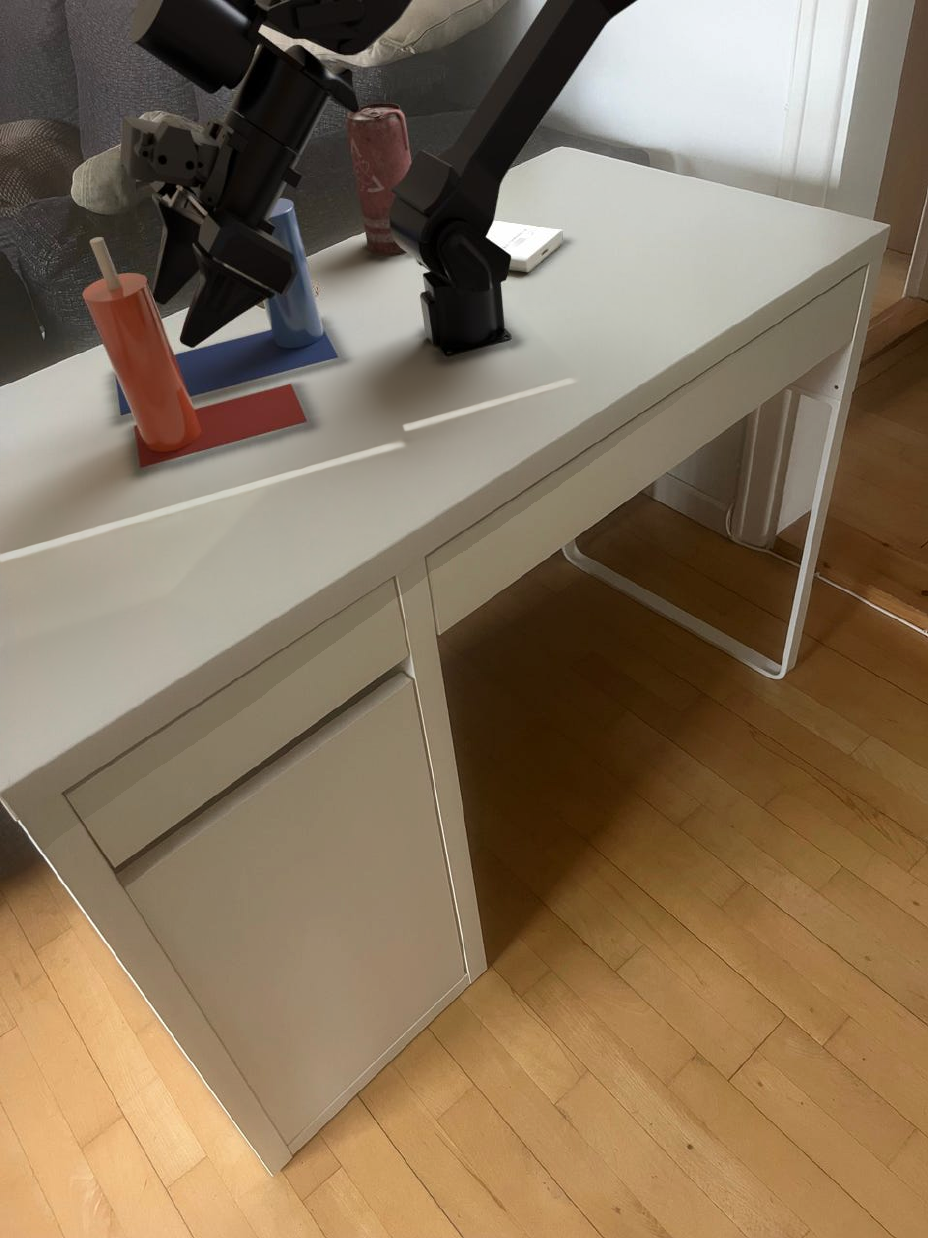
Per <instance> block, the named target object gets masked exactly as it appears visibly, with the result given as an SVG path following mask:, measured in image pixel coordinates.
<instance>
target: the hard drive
mask: <svg viewBox="0 0 928 1238" xmlns="http://www.w3.org/2000/svg"><path fill="white" fill-rule="evenodd" d="M486 237H487V238H488V239H489V240H491V241H492V242H494V243H495V244H496V245H498V246H499V247H501V248H502V249H503V250H505V251H506V252H507V253H509V254H510V255H511V262H510V266H509V271H514V272H515V271H516V272H524V273H529V272H531V271H532V270H533V269H535V268H536V267H537V266H538V265H539V264H540V263H541V262H543V261H544V260H545V259H546V258H547V257H549V255H551V254H552V253H553V252H554V251H556V250H557V248H558V247H560V246H561V245H562V243H563V242H564V230H563V229H557V228H549V227H541V226H534V225H528V224H520V223H513V222H506V221H505V222H504V221H500V220H499V221H498V220H494V222H493V224H492V226H491V228H490V230H489V232H488V234H487V236H486Z"/></svg>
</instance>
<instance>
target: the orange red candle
mask: <svg viewBox="0 0 928 1238" xmlns="http://www.w3.org/2000/svg"><path fill="white" fill-rule="evenodd" d="M89 244H90V246H91V249H92V252H93V254H94V256H95V259H96V262H97V264H98V267H99V269H100V272H101V274H102V277H103V278H100V279H98V280H96V281H94V282H92V283H91V284H89V285H88V286H87V287H86V288H85V289H84V290H83V292H82V298H83V301H84V302H85V305H86V308H87V310H88V313H89V315H90V317H91V319H92V323H93V324H94V326H95V329H96V331H97V333H98V336H99V339H100V341H101V343H102V345H103V348H104V350H105V352H106V356H107V357H108V360H109V363H110V365H111V367H112V370H113V372H114V374H115V378H116V377H117V379H118V381H119V384H120V386H121V388H122V391H123V393H124V396H125V398H126V400H127V403H128V405H129V407H130V410H131V412H132V413H131V414H132V417H133V419H134V422H135V425H137V426H138V429H139V431H140V434H141V436H142V438H143V441H144V443H145V445H146V447H147V448H148V449H150V450H152V451H156V452H169V451H174V450H178V449H181V448H183V447H186V446H187V445H189V444H191V443H192V442H194V441H195V440H196V439H197V438H198V437H199V435H200V433H201V426H200V423H199V420H198V418H197V415H196V412H195V409H196V408H195V407H194V404H193V401H192V399H191V398H192V397H190V396H189V393H188V390H187V387H186V385H185V382H184V379H183V376H182V374H181V371H180V368H179V365H178V363H177V360H176V357H175V355H176V354H175V351H174V349H173V346H172V343H171V341H170V339H169V335H168V333H167V330H166V327H165V325H164V321H163V319H162V316H161V314H160V310H159V308H158V305H157V302H156V301H155V299H154V297H153V294H152V291H153V290H152V289H151V286H150V283H149V281H148V278H147V277H146V276H145V275H144V274H141V273H137V272H126V273H125V272H124V273H118V272H117V270H116V266H115V265H114V262H113V259H112V257H111V254H110V251H109V248H108V245H107V244H106V240H105V238H104V237H103V236H96V237H93V238H91V239H90V240H89Z"/></svg>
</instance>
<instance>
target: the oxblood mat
mask: <svg viewBox="0 0 928 1238" xmlns="http://www.w3.org/2000/svg"><path fill="white" fill-rule="evenodd" d="M194 409H195V412H196V415H197V418H198V420H199V423H200V426H201V433H200V435H199V437H198V438H197V439H196V440H195V441H194V442H192V443H191V444H189V445H187V446H186V447H183V448H181V449H178V450H174V451H169V452H156V451H152V450H150V449H148V448H147V447H146V445H145V443H144V441H143V438H142V436H141V434H140V431H139V429H138V426H137V424H135V425H134V427H133V428H134V434H135V440H136V448H137V453H138V460H139V467H140V468H145V467H148V466H152V465H156V464H159V463H163V462H167V461H171V460H175V459H177V458H180V457H185V456H189V455H191V454H196V453H199V452H202V451H206V450H209V449H214V448H217V447H221V446H224V445H228V444H231V443H235V442H238V441H239V442H240V441H242V440H246V439H249V438H252V437H257V436H261V435H263V434H267V433H270V432H275V431H278V430H282V429H286V428H288V427H292V426H297V425H300V424H303V423H307V422H308V421H307V418H306V415H305V413H304V411H303V408H302V406H301V403H300V401H299V399H298V397H297V395H296V392H295V389H294V387H293V385H292V383H287V384H284V385H281V386H276V387H273V388H269V389H266V390H262V391H258V392H254V393H251V394H247V395H244V396H240V397H236V398H231V399H229V400H225V401H224V400H223V401H221V402H217V403H214V404H210V405H206V406H202V407H199V408H194Z"/></svg>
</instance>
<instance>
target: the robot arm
mask: <svg viewBox="0 0 928 1238" xmlns="http://www.w3.org/2000/svg"><path fill="white" fill-rule="evenodd" d="M638 1H639V0H546V1H545V2H544V4H543V6H542V7H541V8H540V10H539V11H538V13H537V15H536V17H534V19H533V21H532V23H531V24H530V26H529V28H528V29H527V30H526V32H525V34H524V35H523V37H522V38H521V39H520V41H519V43H518V44H517V46H516V47H515V49H514V50H513V52H512V54H511V55H510V57H509V58H508V60H507V61H506V63H505V64H504V66H503V68H502V69H501V71H500V72H499V74H498V76H496V78H495V80H494V82H493V83H492V84H491V86H490V87H489V89H488V91H487V92H486V94H485V96H484V97H483V98H482V100H481V102H480V103H479V105H478V107H477V108H476V109H475V111H474V112H473V114H472V116H471V117H470V119H469V120H468V122H467V124H465V127H464V128H463V130H462V131H461V133H460V134H459V136H458V137H457V138H456V140H455V141H454V142H453V144H451V146H450V147H449V148H447V149H446V150H444V151H443V152H441V153H440V154H438V155H437V156H435V155H433V154H431V153H429V152H428V151H425V150H424V149H419V150H418V151H417V153H416V154H415V155H414V156H413V158H412V159H411V165H410V167H409V169H408V171H407V173H406V175H405V177H404V178H403V179H402V180H401V181H400V183H399V184H397V185H396V186H395V187H393V188H392V189H391V192H392V193H393V194H395V195H396V197H395V198H394V200H393V202H392V205H391V207H390V210H389V214H388V218H389V222H390V231H391V234H392V236H393V238H394V241H395V242H396V243H397V244H398V245H399V246H400V247H401V248H402V249H403V250H405V251H406V252H407V254H409V255H410V257H413V259H415V261H416V263H417V265H419V266H421V267H423V268H425V269H426V270H427V272H424V273H422V278H423V285H424V291H422V292H420V295H419V299H420V307H421V313H422V319H423V327H424V332H425V336H426V338H428V340H429V342H430V343H431V344H432V345H433V346H434V347H438V348H439V350H440V351H441V353H442V354H443V356H445V357H453V356H456V355H457V356H458V355H460V354H463V353H468V352H471V351H475V350H478V349H481V348H486V347H489V346H493V345H495V344H500V343H503V342H507V341H511V340H512V338H513V336H512V334H511V333H510V332H509V330H508V329H507V328H506V327H505V316H504V315H505V314H504V303H503V301H504V300H503V290H502V283H503V282H505V281H507V280H508V275H509V271H510V270H509V266H510V262H511V255H510V254H509V253H507V252H506V251H505V250H503V249H502V248H501V247H499V246H498V245H496V244H495V243H494V242H492V241H491V240H489V239H488V238H487V237H486V236H487V234H488V232H489V230H490V228H491V226H492V224H493V222H494V221H495V216H496V211H497V205H498V202H499V201H498V200H499V195H500V190H501V186H502V185H501V184H502V183H503V181H504V178H505V177H506V175H507V174H508V172H509V171H510V169H511V168H512V167H513V165H514V163H515V162H516V161H517V159H518V157H519V156H520V154H521V153H522V151H523V150H524V148H525V147H526V146H527V144H528V142H529V141H530V140H531V138H532V137H533V136H534V134H535V132H536V131H537V129H538V128H539V126H540V125H541V123H542V122H543V121H544V119H545V117H546V116H547V114H548V112H549V111H550V110H551V108H552V107H553V105H554V104H555V102H556V100H557V99H558V98H559V96H560V95H561V93H562V92H563V90H564V89H565V88H566V85H568V83H569V81H570V80H571V78H572V77H573V76H574V74H575V72H576V71H577V69H578V68H579V66H580V65H581V63H582V62H583V60H584V59H585V57H586V56H587V54H589V51H590V50H591V48H592V47H593V46H594V44H595V42H596V41H597V39H598V38H599V36H600V35H601V34H602V32H603V30H604V29H605V27H607V25H608V23H609V22H610V21H611V20H612V19H613V18H614V17H616V16H618V15H619V14H620V13H622V12H623V11H625V10H626V9H628V8H629V7H630V6H632V5H634V3H635V4H636V2H638ZM413 2H414V1H413V0H138V1H137V3H136V7H135V10H134V13H133V16H132V21H131V26H130V40H131V42H133V43H134V44H135V45H137V46H138V47H140V48H141V49H142V50H143V51H146V52H147V53H148V54H150V55H151V56H152V57H154V58H156V59H157V60H159V61H160V62H161V63H163V64H164V65H166V66H168V67H169V68H170V69H172V70H173V71H175V72H176V73H177V74H179V75H180V76H182V77H183V78H185V79H187V80H188V81H189V82H191V83H193V84H194V85H195V86H197V87H198V88H200V89H201V90H202V91H204V92H206V93H207V94H209V95H214V94H215V93H217V92H219V90H221V89H222V88H224V87H225V88H226V89H228V90H231V91H232V90H235V88H237V87H238V89H237V91H236V93H235V95H234V98H232V99H233V100H232V101H231V104H230V106H229V108H228V109H227V111H226V113H225V116H224V118H223V119H221V118H219V117H218V116H216V115H215V116H214V117H213V119H212V118H209V119H208V120H207V123H206V124H205V126H204V128H203V131H202V132H198V131H193V130H190V129H189V128H188V127H187V126H186V125H185V124H184V125H183V124H180V125H179V126H177V125H174V124H170V122H168V121H166V120H162V121H161V122H156V121H153V120H147V119H144V118H139V117H134V116H129V115H124V116H122V122H121V123H122V124H121V137H120V140H121V141H120V154H119V165H120V167H122V168H124V169H126V174H127V175H128V176H129V177H130V178H132V179H134V180H137V181H141V182H143V183H149V185H150V187H151V188H152V189H153V190H154V191H155V192H156V193H157V194H158V195H157V194H155V193H151V199H152V201H153V203H154V205H155V208H156V210H157V213H158V215H159V216H158V217H159V219H160V221H161V224H162V233H161V240H160V246H159V252H158V257H157V263H156V269H155V270H156V271H155V274H154V279H153V280H154V281H153V286H152V290H151V291H152V294H153V297H154V299H155V302H156V303H158V304H159V305H162V306H165V305H166V304H167V303H169V301H171V299H173V298H174V297H175V296H176V295H177V294H178V293H179V292H180V291H181V290H182V289H183V288H184V287H185V286H186V285H187V284H188V283H189V282H190V280H191V279H192V278H193V277H194V276H195V275H197V274H198V272H199V277H198V280H197V283H196V286H195V289H194V292H193V295H192V298H191V301H190V303H189V307H188V310H187V313H186V316H185V318H184V322H183V324H182V328H181V332H180V335H179V342H180V343H181V344H182V345H183V346H185V347H188V348H191V349H194V348H196V347H197V346H199V345H200V344H201V343H202V342H204V341H206V340H207V339H208V338H210V337H211V336H212V335H214V334H216V333H217V332H218V331H219V330H221V329H223V328H224V327H225V326H227V324H230V323H231V322H232V321H234V320H235V319H237V318H238V317H240V316H242V315H243V314H244V313H246V312H248V311H249V310H251V309H252V308H254V307H255V306H257V305H259V304H261V303H263V301H264V300H265V299H267V298H268V299H271V300H272V299H273V298H274V297H275V295H276V293H275V292H274V291H276V292H278V293H280V294H281V295H286V294H287V292H288V290H289V288H290V286H291V284H292V283H293V281H294V279H295V277H296V275H297V273H298V271H297V267H296V263H295V259H294V255H293V254H292V253H291V252H290V251H289V250H288V249H287V248H286V247H285V246H284V245H283V244H282V243H281V242H280V241H279V240H277V239H276V238H274V237H272V236H271V235H272V233H273V231H274V229H275V226H274V225H273V224H272V223H271V222H270V221H268V219H269V217H270V215H271V213H272V211H273V209H274V207H275V205H276V203H277V202H278V200H279V198H281V195H282V193H283V192H284V190H285V188H286V186H287V184H288V185H289V186H291V187H292V188H294V189H297V187H298V185H299V184H300V181H301V179H302V178H303V175H302V174H300V173H299V172H298V171H296V170H295V168H296V167H297V164H298V163H299V161H300V159H301V157H302V155H303V153H304V150H305V149H306V147H307V145H308V144H309V141H310V140H311V137H312V135H313V133H314V131H315V130H316V128H317V126H318V124H319V122H320V120H321V118H322V116H323V114H324V112H325V111H326V108H327V107H328V104H329V103H330V101H332V102H333V103H335V104H336V105H337V106H339V107H341V108H343V109H345V110H346V111H348V112H352V113H357V112H358V110H359V107H360V104H359V100H358V96H357V93H356V91H355V85H354V79H353V78H354V72H353V70H352V69H351V68H349V67H347V66H345V65H343V64H336V65H334V66H330V67H329V66H328V65H327V64H326V63H325V62H323V61H322V60H321V59H319V58H318V56H315V55H314V54H313V53H312V52H311V51H309V50H308V49H307V48H305V46H303V45H302V44H294V45H291V46H290V47H288V48H287V49H285V50H283V49H282V48H281V47H279V46H278V45H277V44H275V43H273V42H272V41H271V40H270V39H269V38H268V37H266V36H265V35H263V34H262V33H261V32H260V30H261V27H262V26H264V27H266V28H268V29H271V30H273V31H275V32H277V33H279V34H281V35H284V36H285V37H287V38H289V39H290V38H291V39H292V40H305V41H308V42H310V43H312V44H315V45H316V46H319V47H321V48H323V49H325V50H327V51H330V52H332V53H335V54H337V55H342V56H344V57H345V56H354V55H357V54H360V53H362V52H365V51H366V50H368V49H369V48H370V47H371V46H372V45H373V44H374V43H375V42H377V41H378V40H379V39H380V38H381V37H382V36H383V35H384V34H385V33H386V32H387V31H389V30H390V29H391V28H392V27H393V26H394V25H395V24H396V23H397V22H398V21H399V20H400V19H401V18H402V17H403V16H404V14H405V12H406V11H407V9H408V8H409V6H410V5H411V4H412V3H413ZM159 195H160V196H159ZM161 196H162V197H161ZM273 290H274V291H273Z"/></svg>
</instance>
